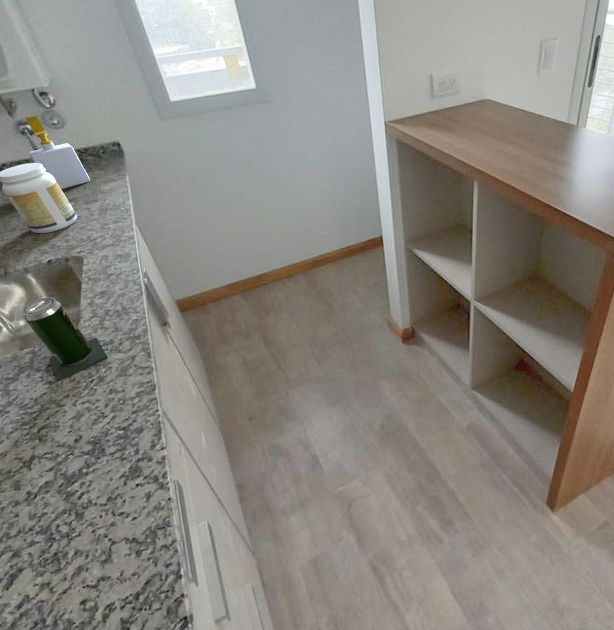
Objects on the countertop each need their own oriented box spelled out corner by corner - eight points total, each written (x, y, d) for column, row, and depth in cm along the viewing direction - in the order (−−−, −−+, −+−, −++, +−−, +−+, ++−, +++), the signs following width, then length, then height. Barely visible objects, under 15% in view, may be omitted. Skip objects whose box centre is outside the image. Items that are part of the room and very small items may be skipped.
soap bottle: (53, 192, 154) (9, 121, 139) (49, 187, 158) (7, 118, 143) (91, 181, 160) (53, 112, 146) (87, 177, 164) (50, 110, 149)
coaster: (59, 381, 78) (57, 379, 77) (50, 359, 82) (48, 358, 82) (108, 357, 82) (106, 355, 81) (97, 338, 86) (96, 336, 86)
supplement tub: (66, 213, 138) (33, 159, 127) (87, 220, 133) (54, 164, 122) (23, 230, 130) (-16, 173, 119) (43, 238, 125) (4, 180, 114)
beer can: (72, 370, 79) (31, 318, 71) (54, 363, 81) (12, 311, 73) (100, 351, 82) (64, 300, 75) (82, 344, 84) (45, 294, 77)
